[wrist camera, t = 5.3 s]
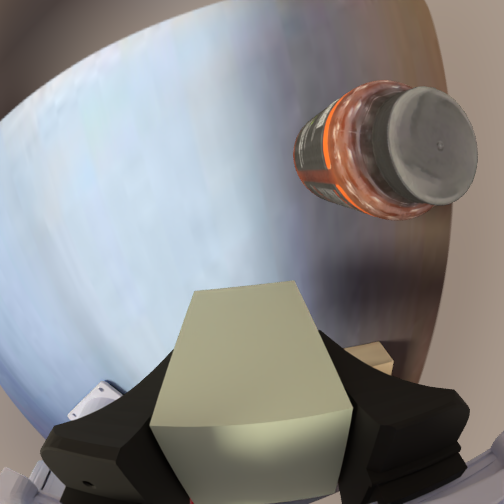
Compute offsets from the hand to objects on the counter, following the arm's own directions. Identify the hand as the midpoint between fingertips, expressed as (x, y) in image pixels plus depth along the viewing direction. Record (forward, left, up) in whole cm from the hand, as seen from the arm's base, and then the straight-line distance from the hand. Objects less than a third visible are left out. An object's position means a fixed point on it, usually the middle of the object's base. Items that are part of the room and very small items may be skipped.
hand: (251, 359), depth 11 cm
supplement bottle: (+10, +2, -9) cm, 14 cm away
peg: (0, 0, -2) cm, 2 cm away
